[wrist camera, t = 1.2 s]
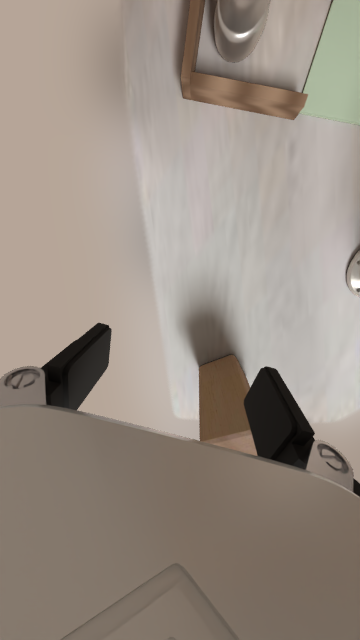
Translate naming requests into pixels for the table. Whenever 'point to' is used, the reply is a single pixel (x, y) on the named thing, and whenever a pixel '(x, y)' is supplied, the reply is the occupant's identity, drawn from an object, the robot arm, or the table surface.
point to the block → (224, 405)
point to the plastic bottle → (239, 27)
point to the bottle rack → (231, 81)
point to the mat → (336, 67)
